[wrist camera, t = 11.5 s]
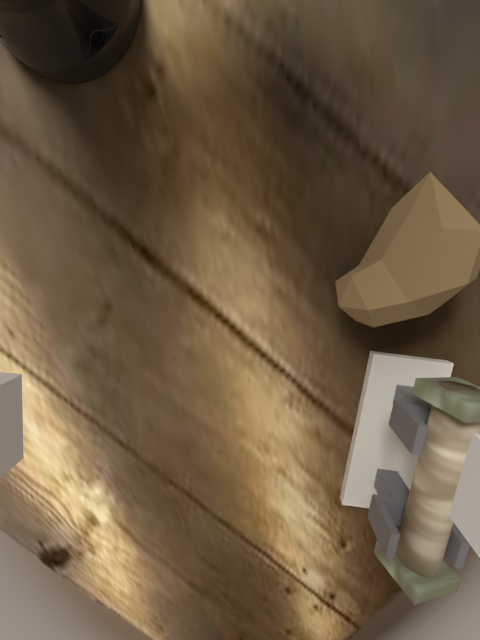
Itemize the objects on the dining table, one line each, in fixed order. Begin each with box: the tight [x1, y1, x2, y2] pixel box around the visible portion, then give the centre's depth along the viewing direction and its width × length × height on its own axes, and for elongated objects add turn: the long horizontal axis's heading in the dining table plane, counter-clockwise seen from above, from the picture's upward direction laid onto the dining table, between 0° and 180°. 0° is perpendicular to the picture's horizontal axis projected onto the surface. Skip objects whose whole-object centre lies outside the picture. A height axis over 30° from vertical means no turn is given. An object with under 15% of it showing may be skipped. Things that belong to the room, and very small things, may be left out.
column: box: [374, 377, 480, 605], centre depth 31 cm, size 20×5×5 cm, turn 173°
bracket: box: [340, 351, 470, 569], centre depth 35 cm, size 20×9×11 cm, turn 173°
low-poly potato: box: [335, 172, 480, 327], centre depth 31 cm, size 15×11×12 cm
